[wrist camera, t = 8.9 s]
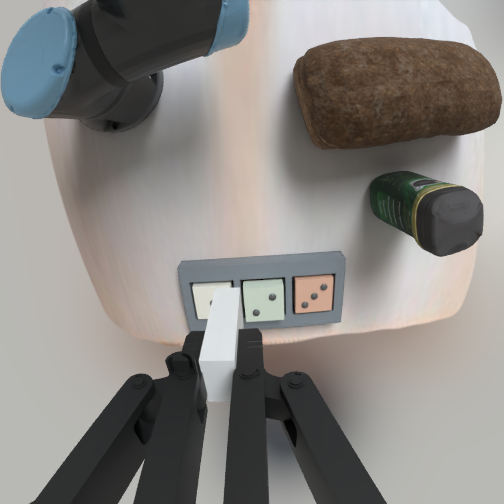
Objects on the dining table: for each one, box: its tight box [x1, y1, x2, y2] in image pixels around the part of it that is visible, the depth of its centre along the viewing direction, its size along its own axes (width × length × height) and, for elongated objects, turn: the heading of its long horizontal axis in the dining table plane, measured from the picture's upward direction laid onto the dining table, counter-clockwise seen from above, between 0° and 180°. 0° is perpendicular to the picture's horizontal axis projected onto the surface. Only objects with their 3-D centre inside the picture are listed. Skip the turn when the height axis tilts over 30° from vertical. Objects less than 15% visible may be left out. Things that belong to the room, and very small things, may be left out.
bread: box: [293, 37, 502, 149], centre depth 30 cm, size 15×32×16 cm, turn 105°
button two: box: [243, 279, 284, 322], centre depth 46 cm, size 6×6×3 cm
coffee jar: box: [370, 171, 483, 257], centre depth 35 cm, size 10×8×19 cm
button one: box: [192, 280, 232, 319], centre depth 47 cm, size 6×6×3 cm
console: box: [177, 251, 346, 332], centre depth 48 cm, size 26×12×3 cm, turn 94°
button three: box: [294, 274, 333, 313], centre depth 47 cm, size 6×6×3 cm
